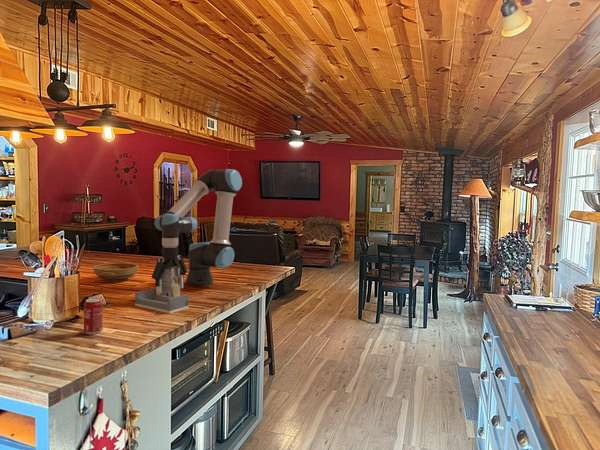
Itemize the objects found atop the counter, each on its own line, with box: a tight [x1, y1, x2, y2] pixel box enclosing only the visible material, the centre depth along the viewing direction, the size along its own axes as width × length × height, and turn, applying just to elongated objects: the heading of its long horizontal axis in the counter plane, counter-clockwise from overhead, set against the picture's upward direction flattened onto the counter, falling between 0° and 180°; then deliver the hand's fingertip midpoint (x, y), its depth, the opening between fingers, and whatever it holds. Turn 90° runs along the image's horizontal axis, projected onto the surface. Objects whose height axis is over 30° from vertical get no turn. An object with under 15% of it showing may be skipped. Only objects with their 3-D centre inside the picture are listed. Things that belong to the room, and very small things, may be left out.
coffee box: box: [159, 265, 181, 297], centre depth 210 cm, size 9×6×16 cm
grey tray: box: [134, 287, 190, 314], centre depth 197 cm, size 11×22×6 cm, turn 60°
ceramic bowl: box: [92, 262, 140, 283], centre depth 252 cm, size 30×24×8 cm
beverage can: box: [83, 298, 104, 335], centre depth 161 cm, size 6×6×12 cm
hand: (170, 290), depth 211 cm, fingers open, 13 cm apart
